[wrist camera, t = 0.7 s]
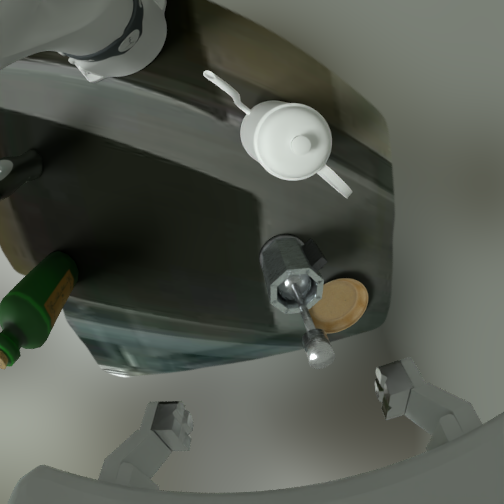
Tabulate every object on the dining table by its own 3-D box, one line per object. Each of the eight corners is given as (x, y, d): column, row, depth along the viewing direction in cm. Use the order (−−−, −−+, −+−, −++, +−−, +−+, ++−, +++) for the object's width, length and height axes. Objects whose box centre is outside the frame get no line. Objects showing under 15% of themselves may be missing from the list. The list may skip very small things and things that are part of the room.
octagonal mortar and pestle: (249, 258, 56) (255, 295, 46) (291, 216, 53) (308, 246, 42) (282, 284, 60) (295, 323, 49) (323, 247, 56) (345, 280, 46)
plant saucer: (359, 262, 59) (364, 268, 57) (367, 312, 66) (371, 318, 64) (293, 286, 60) (296, 294, 58) (309, 334, 67) (312, 341, 65)
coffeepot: (232, 60, 40) (237, 30, 23) (344, 154, 49) (400, 181, 32) (189, 110, 43) (168, 110, 26) (304, 199, 52) (342, 245, 35)
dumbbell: (270, 285, 48) (290, 364, 33) (295, 263, 46) (326, 337, 31) (293, 302, 50) (318, 379, 35) (316, 281, 48) (351, 354, 33)
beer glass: (15, 172, 43) (-32, 196, 30) (26, 141, 41) (-24, 157, 27) (38, 188, 45) (-7, 216, 32) (49, 156, 43) (1, 176, 30)
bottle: (62, 295, 56) (7, 388, 31) (35, 257, 51) (-35, 341, 27) (93, 278, 55) (37, 381, 30) (65, 236, 50) (-13, 326, 25)
